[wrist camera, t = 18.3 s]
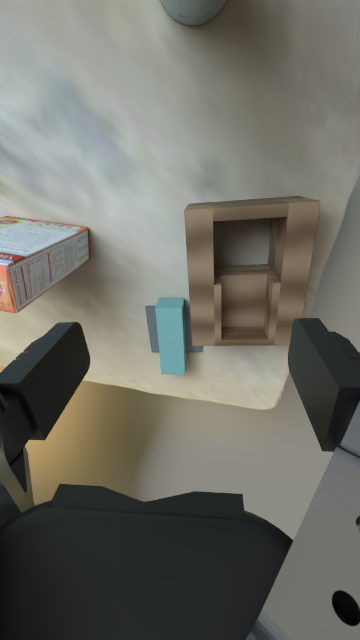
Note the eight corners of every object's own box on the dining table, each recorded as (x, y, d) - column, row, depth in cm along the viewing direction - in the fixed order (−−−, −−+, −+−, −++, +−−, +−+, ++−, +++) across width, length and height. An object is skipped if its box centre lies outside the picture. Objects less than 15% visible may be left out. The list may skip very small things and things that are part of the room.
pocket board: (189, 203, 41) (184, 210, 33) (298, 196, 39) (320, 201, 31) (195, 319, 50) (192, 345, 43) (283, 317, 49) (298, 344, 41)
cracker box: (13, 250, 48) (-110, 297, 29) (7, 214, 45) (-134, 241, 26) (91, 262, 47) (16, 317, 29) (89, 226, 44) (5, 262, 26)
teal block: (159, 298, 49) (155, 308, 45) (183, 298, 48) (181, 308, 45) (164, 361, 55) (161, 374, 52) (186, 362, 55) (185, 374, 51)
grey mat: (146, 306, 50) (145, 307, 50) (199, 304, 49) (199, 306, 48) (152, 350, 55) (151, 352, 54) (201, 350, 54) (201, 352, 53)
